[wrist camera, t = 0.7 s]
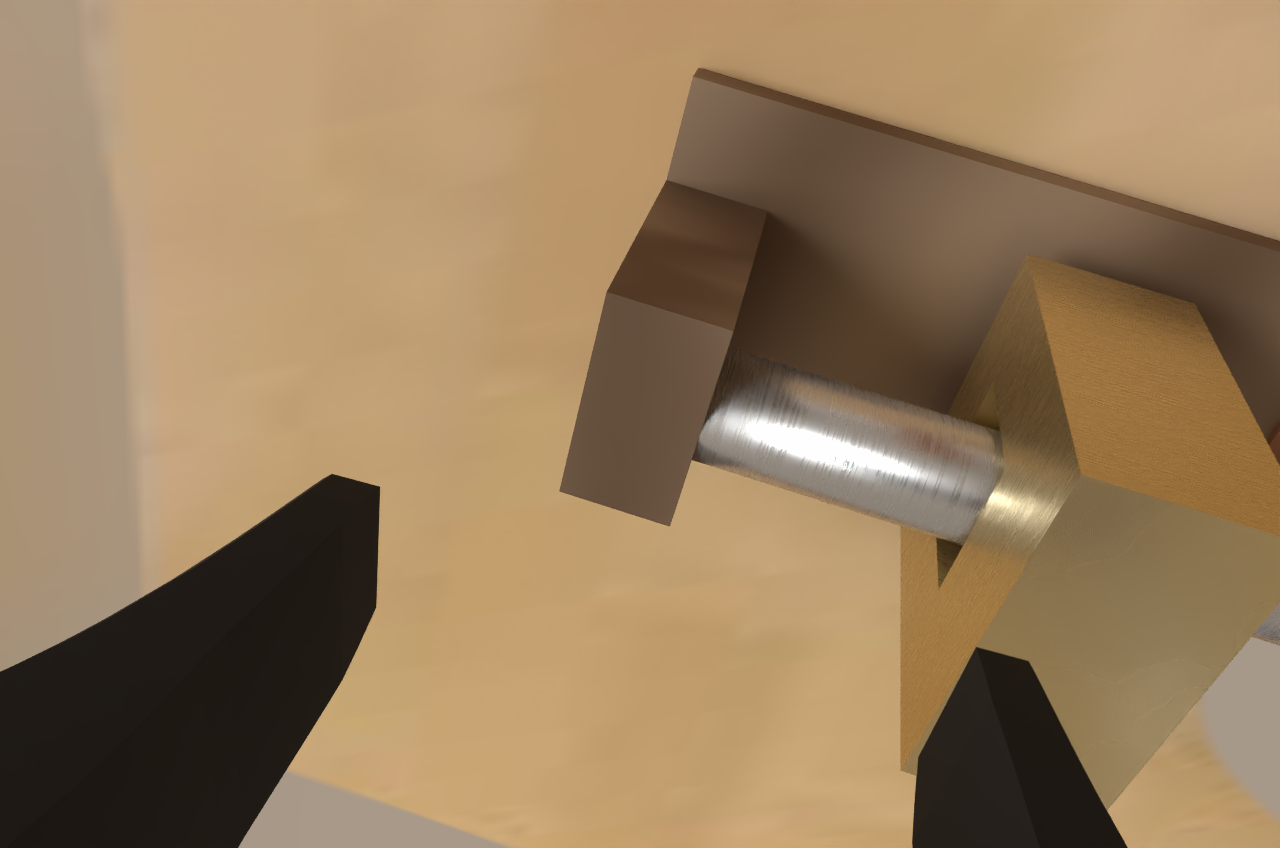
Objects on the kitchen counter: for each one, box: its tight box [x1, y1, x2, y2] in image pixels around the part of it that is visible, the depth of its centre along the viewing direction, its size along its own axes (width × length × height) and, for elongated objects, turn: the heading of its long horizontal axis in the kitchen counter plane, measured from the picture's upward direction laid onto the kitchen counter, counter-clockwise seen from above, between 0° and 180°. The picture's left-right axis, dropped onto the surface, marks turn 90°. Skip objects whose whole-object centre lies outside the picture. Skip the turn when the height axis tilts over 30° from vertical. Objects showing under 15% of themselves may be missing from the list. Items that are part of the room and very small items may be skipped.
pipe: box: [692, 347, 1280, 645], centre depth 17 cm, size 18×2×2 cm, turn 77°
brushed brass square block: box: [901, 253, 1280, 810], centre depth 17 cm, size 3×6×7 cm, turn 167°
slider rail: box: [560, 68, 1280, 526], centre depth 19 cm, size 18×8×6 cm, turn 77°
